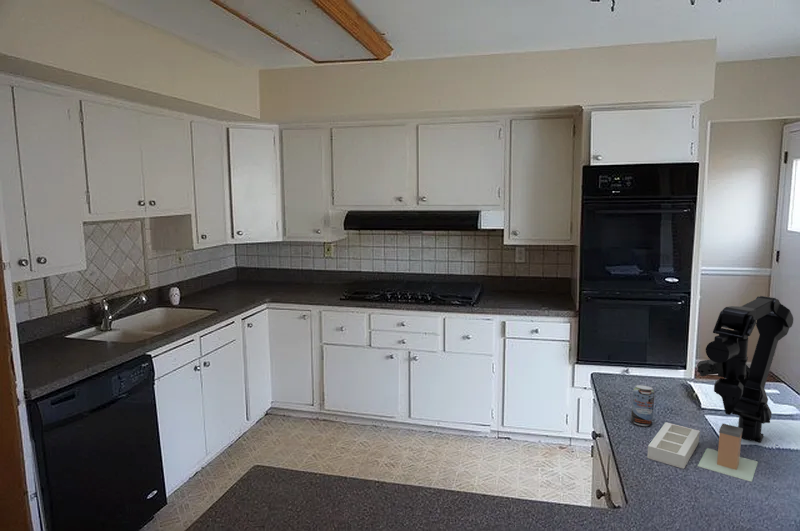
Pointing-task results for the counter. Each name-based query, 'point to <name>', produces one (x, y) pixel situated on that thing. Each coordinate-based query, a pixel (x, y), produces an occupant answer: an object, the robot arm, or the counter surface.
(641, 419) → the beverage can
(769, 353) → the robot arm
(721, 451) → the tan rectangular block
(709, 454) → the mat
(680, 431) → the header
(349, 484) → the counter surface
